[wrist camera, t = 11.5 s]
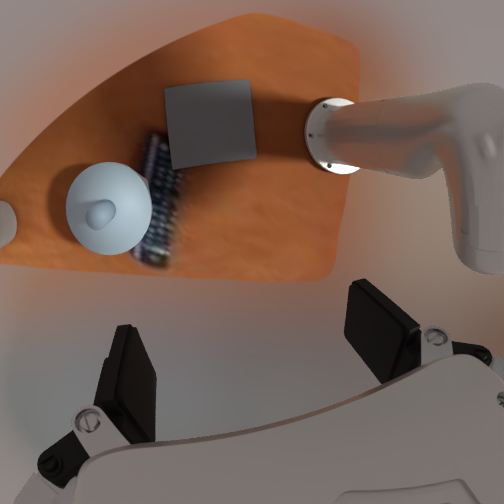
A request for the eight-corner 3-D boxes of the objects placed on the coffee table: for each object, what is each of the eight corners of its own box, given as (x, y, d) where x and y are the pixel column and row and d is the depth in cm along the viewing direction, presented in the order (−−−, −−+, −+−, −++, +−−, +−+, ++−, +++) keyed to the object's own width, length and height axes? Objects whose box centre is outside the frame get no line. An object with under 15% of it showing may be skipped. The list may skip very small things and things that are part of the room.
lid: (144, 153, 30) (137, 153, 25) (159, 244, 34) (155, 259, 30) (61, 174, 27) (44, 178, 23) (80, 258, 32) (68, 274, 28)
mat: (248, 80, 33) (249, 79, 33) (256, 158, 38) (257, 158, 37) (164, 89, 31) (164, 88, 31) (172, 169, 36) (172, 169, 35)
